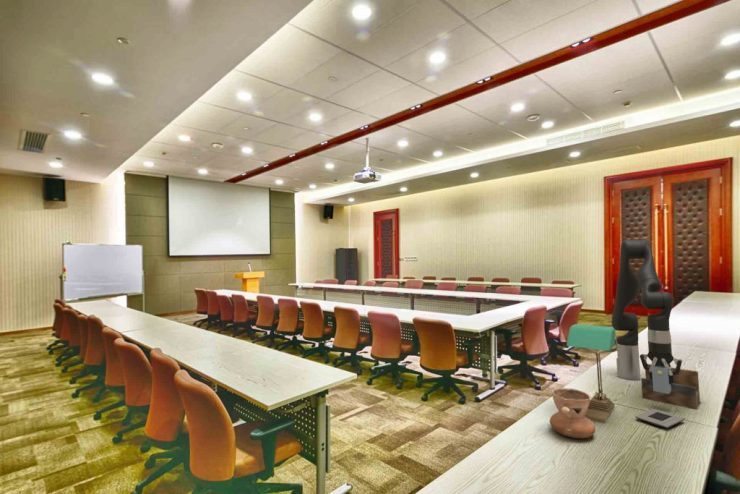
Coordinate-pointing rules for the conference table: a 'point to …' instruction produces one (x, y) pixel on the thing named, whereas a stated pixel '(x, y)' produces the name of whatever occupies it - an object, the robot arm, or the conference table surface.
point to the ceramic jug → (571, 413)
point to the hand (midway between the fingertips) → (661, 382)
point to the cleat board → (675, 389)
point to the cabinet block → (661, 379)
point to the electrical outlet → (659, 418)
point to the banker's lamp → (599, 340)
